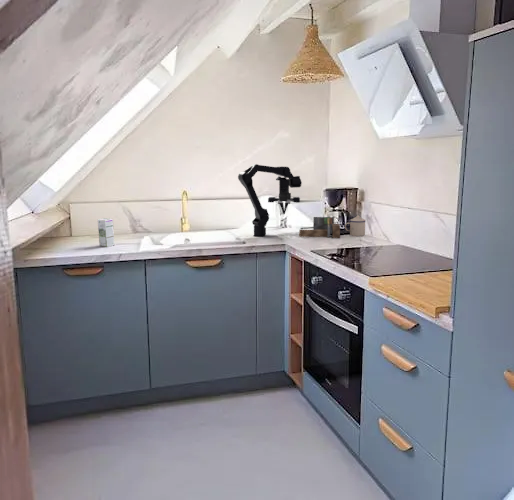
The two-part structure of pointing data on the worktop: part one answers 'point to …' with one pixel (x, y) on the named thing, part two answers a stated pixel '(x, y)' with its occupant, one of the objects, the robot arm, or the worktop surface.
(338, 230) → the gauge housing
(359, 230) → the teacup with lid
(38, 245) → the worktop surface
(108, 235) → the syrup box
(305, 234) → the walnut bar
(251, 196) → the robot arm
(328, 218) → the gauge paddle
